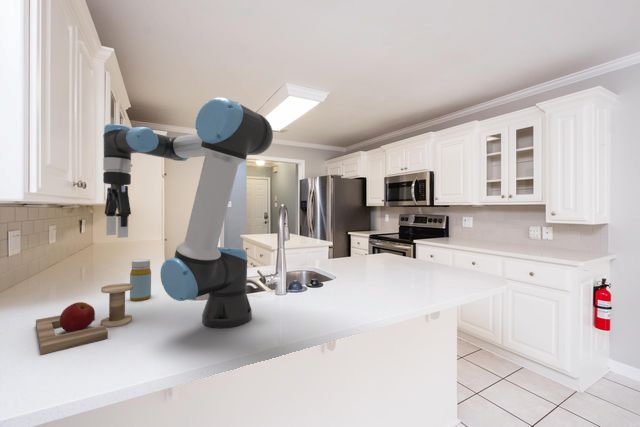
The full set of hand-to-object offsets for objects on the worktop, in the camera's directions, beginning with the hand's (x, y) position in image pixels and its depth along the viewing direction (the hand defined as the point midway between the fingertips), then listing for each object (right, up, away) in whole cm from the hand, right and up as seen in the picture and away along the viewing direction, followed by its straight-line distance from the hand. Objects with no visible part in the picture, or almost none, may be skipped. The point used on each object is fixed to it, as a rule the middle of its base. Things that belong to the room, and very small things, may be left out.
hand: (116, 236), depth 97 cm
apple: (-1, -26, -14) cm, 30 cm away
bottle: (-2, -26, +17) cm, 31 cm away
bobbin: (+5, -26, -7) cm, 27 cm away
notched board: (-2, -26, -15) cm, 30 cm away
